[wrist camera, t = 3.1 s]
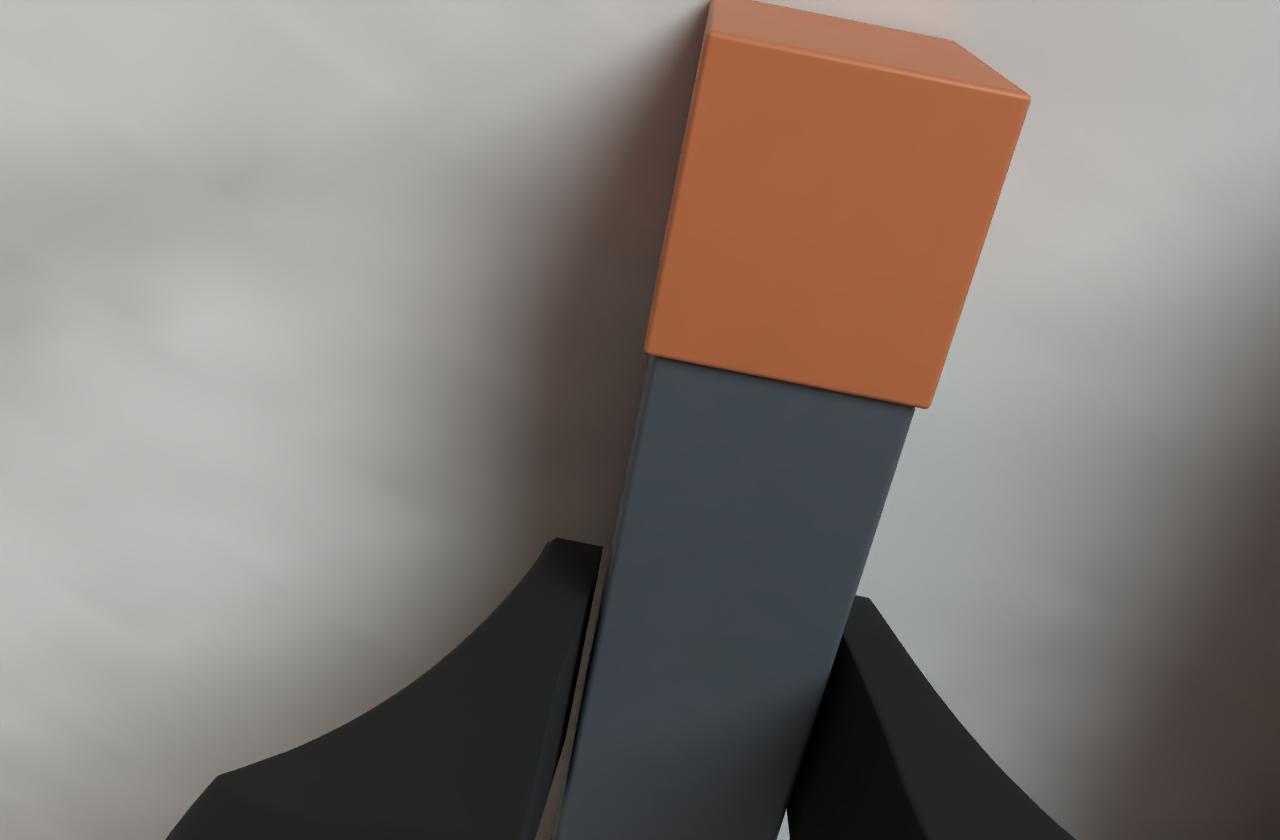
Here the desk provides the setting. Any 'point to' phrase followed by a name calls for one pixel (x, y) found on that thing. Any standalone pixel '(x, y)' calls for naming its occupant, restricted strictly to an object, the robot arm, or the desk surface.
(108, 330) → the desk surface
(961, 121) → the marker
